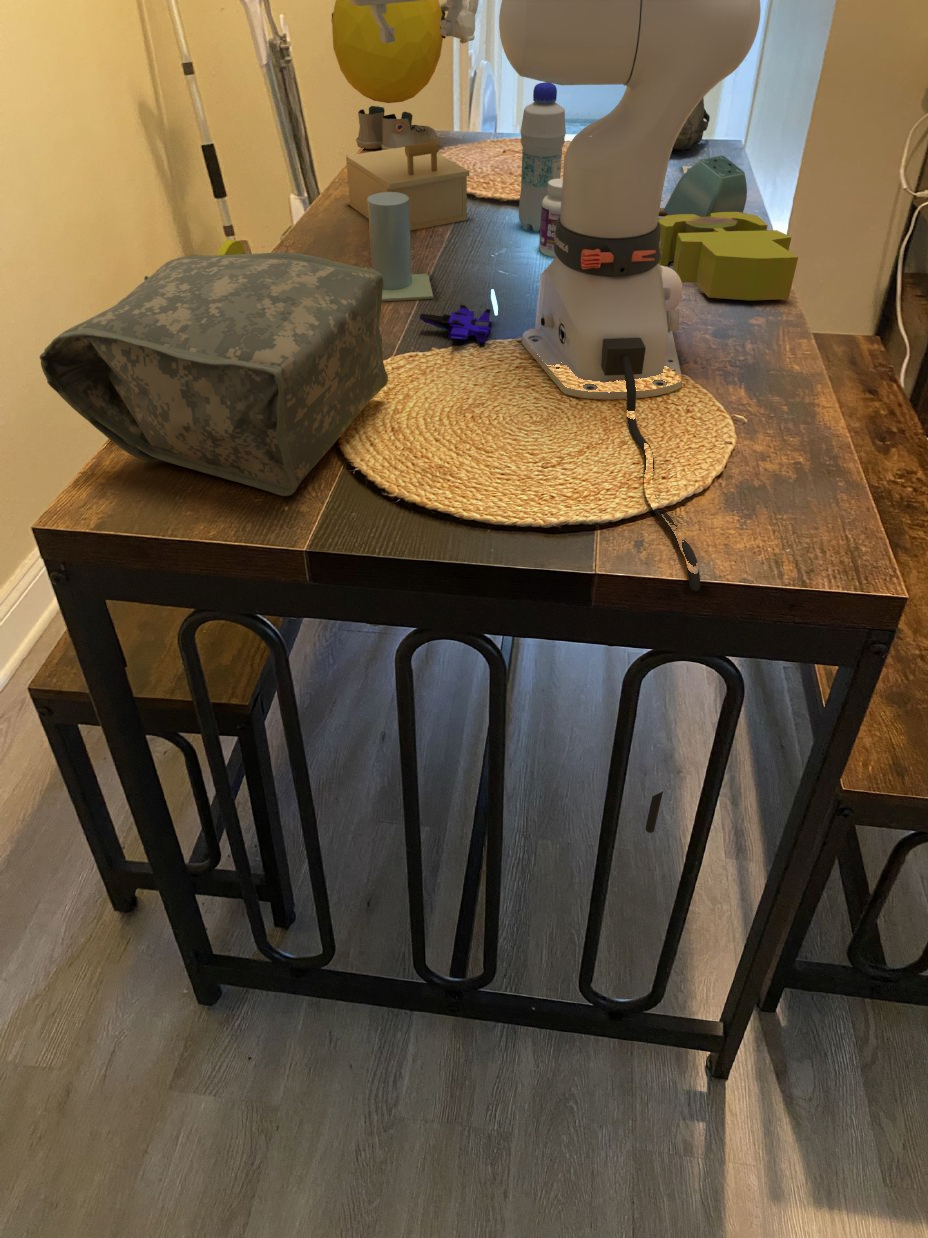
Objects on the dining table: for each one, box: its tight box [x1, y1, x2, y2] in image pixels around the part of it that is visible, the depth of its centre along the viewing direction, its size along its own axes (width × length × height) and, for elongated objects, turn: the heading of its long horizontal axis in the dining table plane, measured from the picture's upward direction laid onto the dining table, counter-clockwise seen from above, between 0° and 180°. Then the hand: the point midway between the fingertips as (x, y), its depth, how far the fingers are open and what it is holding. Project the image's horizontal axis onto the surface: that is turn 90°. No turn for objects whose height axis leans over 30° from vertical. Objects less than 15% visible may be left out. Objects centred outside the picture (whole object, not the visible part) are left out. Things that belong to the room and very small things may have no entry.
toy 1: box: [331, 0, 479, 150], centre depth 171 cm, size 27×24×30 cm
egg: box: [661, 266, 683, 311], centre depth 116 cm, size 6×6×8 cm
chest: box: [346, 161, 468, 232], centre depth 146 cm, size 16×14×7 cm
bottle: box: [518, 82, 567, 233], centre depth 137 cm, size 7×7×20 cm
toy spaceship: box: [419, 304, 493, 348], centre depth 114 cm, size 10×9×2 cm
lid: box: [345, 141, 470, 189], centre depth 142 cm, size 16×14×5 cm
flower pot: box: [663, 155, 748, 217], centre depth 138 cm, size 9×9×9 cm
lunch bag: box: [39, 251, 389, 497], centre depth 93 cm, size 22×16×27 cm
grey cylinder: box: [367, 192, 413, 290], centre depth 123 cm, size 7×5×11 cm
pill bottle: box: [538, 178, 563, 258], centre depth 133 cm, size 5×5×10 cm
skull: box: [672, 96, 711, 151], centre depth 175 cm, size 20×18×20 cm
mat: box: [382, 273, 434, 302], centre depth 125 cm, size 8×10×1 cm
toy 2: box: [658, 212, 799, 301], centre depth 126 cm, size 16×6×20 cm
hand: (418, 38), depth 128 cm, fingers open, 8 cm apart
